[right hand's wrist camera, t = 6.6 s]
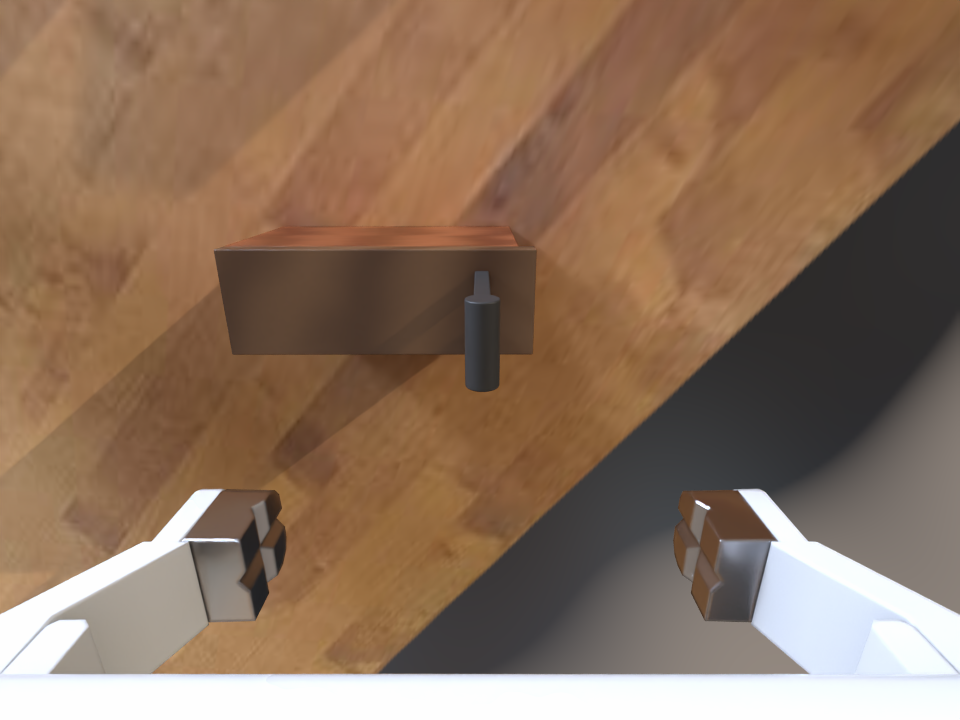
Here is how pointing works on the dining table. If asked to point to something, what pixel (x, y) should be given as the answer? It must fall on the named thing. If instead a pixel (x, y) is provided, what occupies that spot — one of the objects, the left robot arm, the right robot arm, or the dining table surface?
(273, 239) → the chest
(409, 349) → the lid
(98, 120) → the dining table surface
